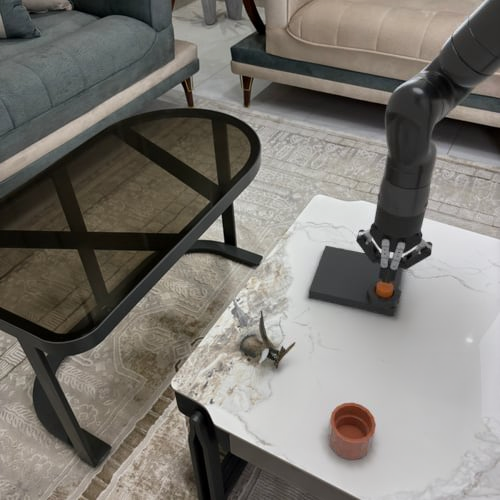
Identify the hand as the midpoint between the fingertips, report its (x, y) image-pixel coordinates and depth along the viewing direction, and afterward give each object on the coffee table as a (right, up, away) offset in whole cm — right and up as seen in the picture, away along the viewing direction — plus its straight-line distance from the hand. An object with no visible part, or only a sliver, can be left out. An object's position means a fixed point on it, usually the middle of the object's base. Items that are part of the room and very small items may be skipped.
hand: (386, 279), depth 90 cm
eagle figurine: (-22, -12, -4) cm, 26 cm away
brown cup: (-10, -23, -17) cm, 30 cm away
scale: (-3, -1, +9) cm, 9 cm away
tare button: (0, -2, +2) cm, 3 cm away
